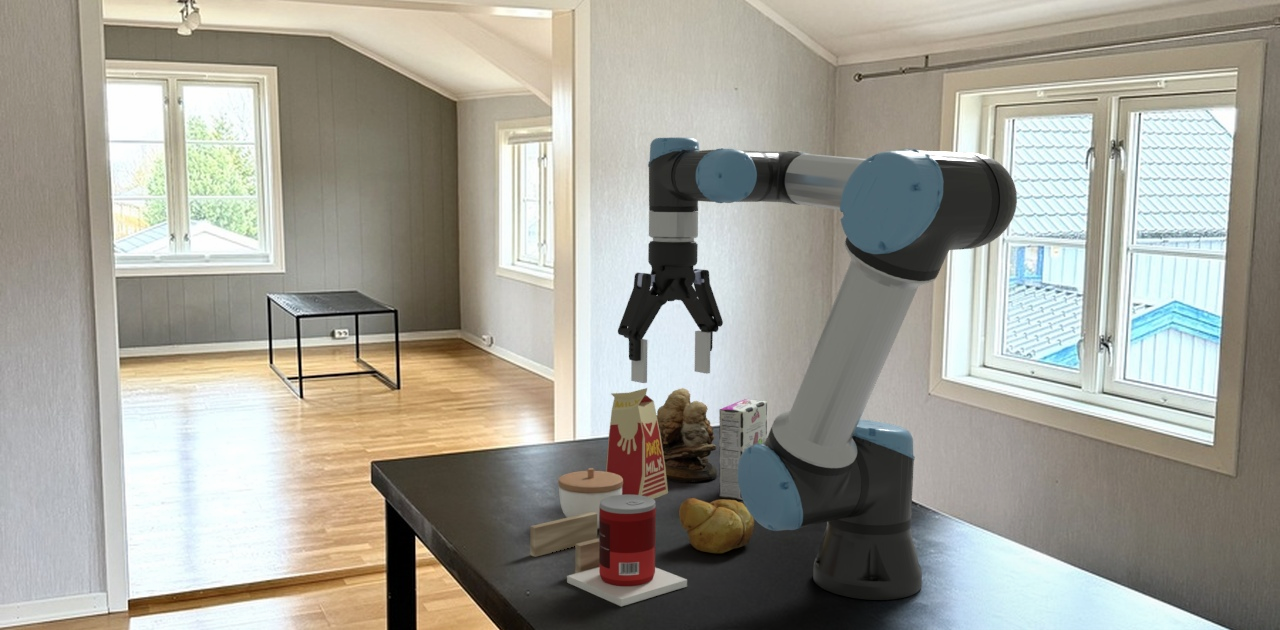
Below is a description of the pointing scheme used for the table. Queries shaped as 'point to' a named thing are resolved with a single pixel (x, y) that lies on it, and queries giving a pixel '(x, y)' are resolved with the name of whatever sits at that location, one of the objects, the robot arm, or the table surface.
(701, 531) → the bread roll
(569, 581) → the coaster
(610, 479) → the lidded jar
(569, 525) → the cradle
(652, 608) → the table surface
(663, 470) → the milk carton
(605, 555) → the canned food
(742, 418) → the candy bar box
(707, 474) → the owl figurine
